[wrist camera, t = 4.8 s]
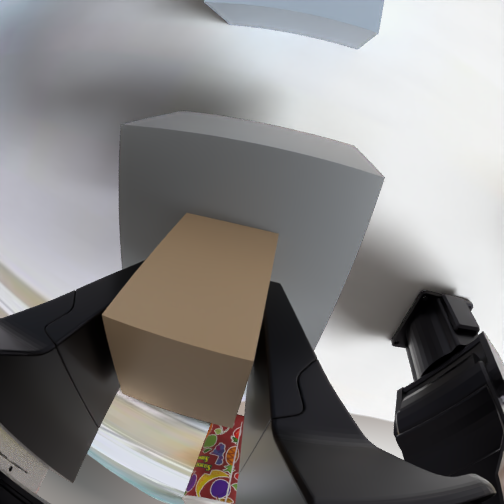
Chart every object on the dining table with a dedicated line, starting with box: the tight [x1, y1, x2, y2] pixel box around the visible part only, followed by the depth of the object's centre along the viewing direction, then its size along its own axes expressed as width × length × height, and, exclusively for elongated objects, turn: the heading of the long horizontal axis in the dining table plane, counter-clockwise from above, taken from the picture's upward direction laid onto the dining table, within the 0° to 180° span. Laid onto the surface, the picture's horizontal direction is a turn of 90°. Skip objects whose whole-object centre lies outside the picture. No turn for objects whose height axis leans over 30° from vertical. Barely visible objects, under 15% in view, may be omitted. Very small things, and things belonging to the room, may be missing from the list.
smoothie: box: [182, 414, 244, 504], centre depth 29 cm, size 8×8×20 cm
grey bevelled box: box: [102, 111, 385, 428], centre depth 10 cm, size 8×8×10 cm
